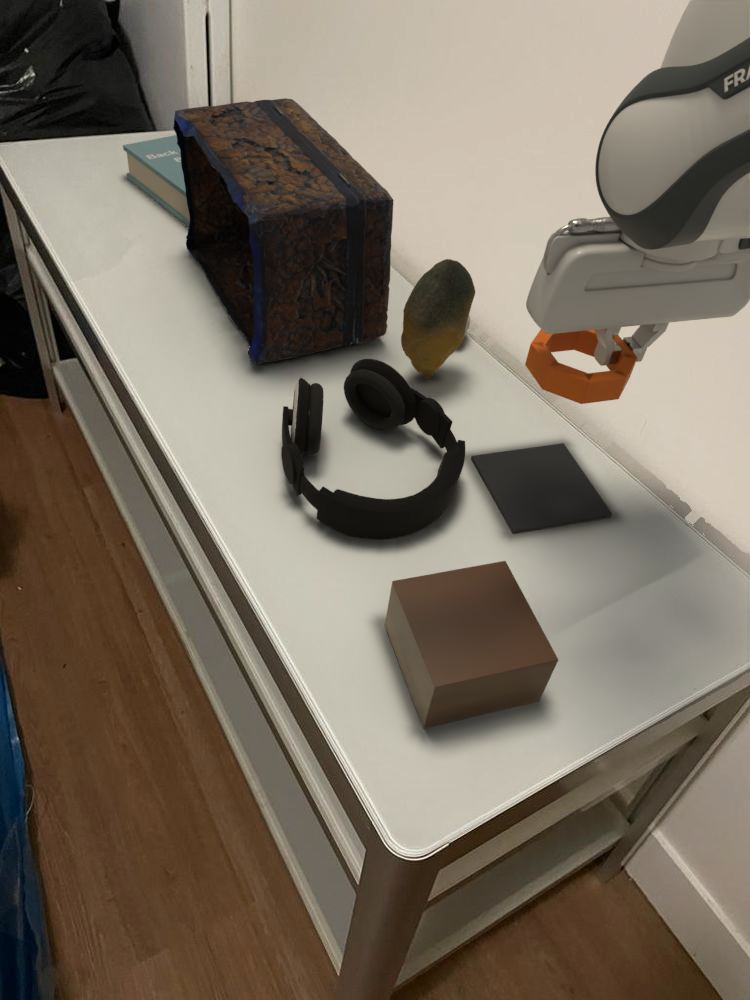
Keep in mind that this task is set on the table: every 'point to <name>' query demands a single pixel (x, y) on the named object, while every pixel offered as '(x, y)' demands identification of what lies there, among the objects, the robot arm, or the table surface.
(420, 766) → the table surface
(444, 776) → the table surface
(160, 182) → the book
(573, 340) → the ring
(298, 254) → the decorative box
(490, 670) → the block
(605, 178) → the robot arm
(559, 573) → the table surface
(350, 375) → the headphones
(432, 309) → the decorative stone
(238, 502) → the table surface
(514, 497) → the mat
